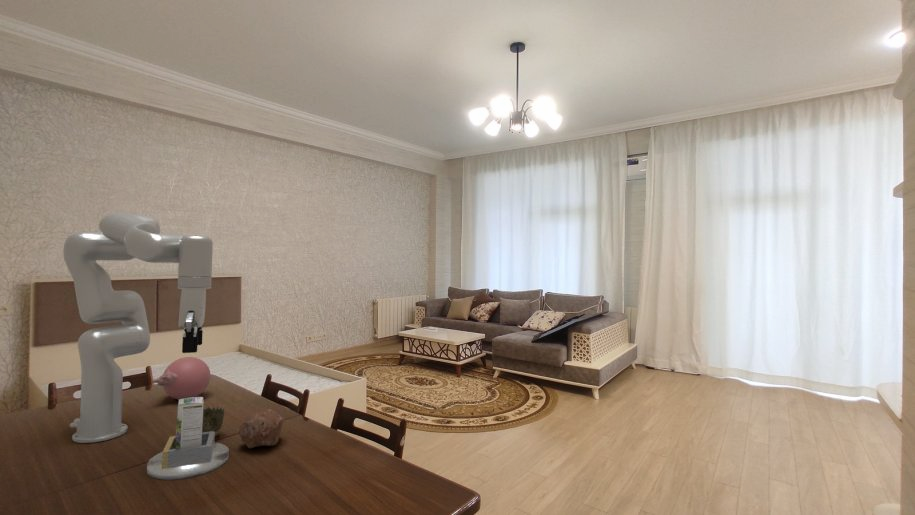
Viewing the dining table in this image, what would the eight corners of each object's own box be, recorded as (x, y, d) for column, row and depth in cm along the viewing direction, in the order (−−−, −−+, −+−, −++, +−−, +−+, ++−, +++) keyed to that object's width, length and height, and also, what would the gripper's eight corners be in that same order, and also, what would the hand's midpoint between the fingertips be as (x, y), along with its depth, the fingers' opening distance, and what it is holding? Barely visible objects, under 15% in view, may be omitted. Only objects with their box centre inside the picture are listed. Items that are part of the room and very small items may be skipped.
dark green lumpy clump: (210, 444, 125) (211, 416, 125) (188, 441, 126) (189, 413, 126) (229, 434, 132) (230, 407, 132) (208, 431, 133) (209, 405, 133)
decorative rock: (268, 456, 118) (270, 419, 118) (228, 454, 119) (229, 417, 119) (290, 436, 132) (291, 403, 132) (253, 434, 132) (254, 401, 132)
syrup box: (175, 454, 115) (177, 398, 115) (201, 449, 118) (203, 395, 118) (174, 463, 110) (176, 405, 110) (202, 458, 113) (203, 401, 113)
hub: (138, 485, 102) (139, 461, 102) (155, 453, 118) (155, 433, 118) (226, 472, 109) (226, 449, 109) (230, 443, 125) (231, 424, 125)
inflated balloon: (137, 404, 155) (139, 361, 156) (193, 390, 173) (194, 351, 173) (163, 412, 149) (165, 367, 149) (218, 396, 166) (220, 356, 167)
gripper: (183, 281, 121) (181, 343, 121) (171, 285, 105) (169, 356, 105) (214, 281, 124) (212, 341, 124) (207, 285, 108) (205, 354, 108)
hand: (192, 348), depth 114 cm, fingers open, 9 cm apart
